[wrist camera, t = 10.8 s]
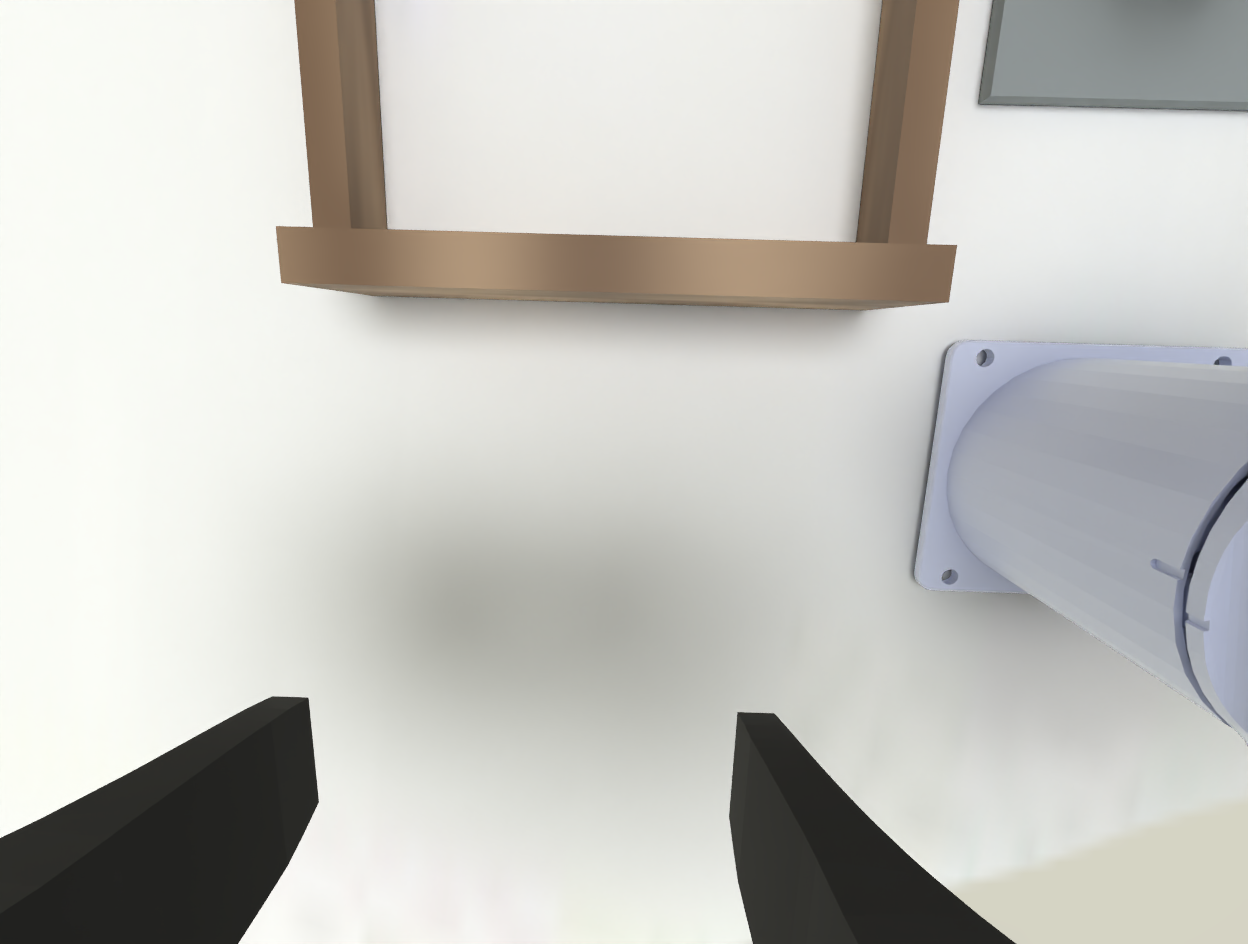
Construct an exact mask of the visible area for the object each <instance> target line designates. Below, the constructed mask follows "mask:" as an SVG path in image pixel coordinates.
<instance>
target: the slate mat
mask: <svg viewBox="0 0 1248 944" xmlns="http://www.w3.org/2000/svg"><path fill="white" fill-rule="evenodd" d="M979 104H1005V105H1045V106H1085V107H1125V108H1164V109H1204V110H1244V111H1248V0H994V1H993V8H992V15H991V22H990V29H989V35H988V42H987V49H986V56H985V63H984V70H983V77H982V84H981V90H980V97H979Z"/></svg>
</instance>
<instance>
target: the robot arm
mask: <svg viewBox="0 0 1248 944" xmlns="http://www.w3.org/2000/svg"><path fill="white" fill-rule="evenodd" d="M981 350H984V351H985V352H986V353H987V359H986V361H985V363H983V364H982V365H981V366H979V364H978V363H977V359H976V357H977V355H978V353H979V352H980V351H981ZM1217 359H1219V365H1214V363H1215V361H1216V360H1217ZM951 569H952V574H951V576H950V577H949V578H948V579H945V580H942V575H943V573H944V572H945V571H947V570H951ZM914 576H915V579H916V581H917V582H918V583H919V584H920V585H921V586H922V587H924V588H925V589H928V590H938V591H967V592H996V593H1026V594H1030V595H1032V596H1033V597H1035V598H1036V599H1038V600H1039V601H1041V602H1043V603H1044V604H1046V605H1047V606H1049V607H1050V608H1052V609H1053V610H1055V611H1056V612H1058V613H1059V614H1061V615H1062V616H1064V617H1065V618H1067V619H1068V620H1070V621H1071V622H1073V623H1074V624H1076V625H1077V626H1079V627H1080V628H1082V629H1083V630H1085V631H1086V632H1088V633H1089V634H1091V635H1092V636H1094V637H1095V638H1097V639H1098V640H1100V641H1101V642H1103V643H1104V644H1106V645H1107V646H1109V647H1110V648H1112V649H1113V650H1115V651H1116V652H1118V653H1119V654H1121V655H1122V656H1124V657H1125V658H1127V659H1128V660H1130V661H1131V662H1133V663H1134V664H1136V665H1137V666H1139V667H1140V668H1142V669H1144V670H1145V671H1147V672H1148V673H1150V674H1151V675H1153V676H1154V677H1156V678H1157V679H1159V680H1160V681H1162V682H1163V683H1165V684H1166V685H1168V686H1169V687H1171V688H1172V689H1174V690H1175V691H1177V692H1178V693H1180V694H1181V695H1183V696H1184V697H1186V698H1187V699H1189V700H1190V701H1192V702H1193V703H1195V704H1196V705H1198V706H1199V707H1201V708H1202V709H1204V710H1205V711H1207V712H1208V713H1210V714H1211V715H1213V716H1214V717H1216V718H1217V719H1219V720H1220V721H1222V722H1223V723H1225V724H1227V725H1228V726H1230V727H1232V728H1233V729H1234V730H1235V731H1236V732H1237V733H1238V734H1239V735H1240V736H1241V737H1242V738H1243V739H1244V741H1245V742H1246V744H1247V746H1248V349H1246V348H1212V347H1179V346H1145V345H1111V344H1077V343H1044V342H1010V341H976V340H963V341H958V342H956V343H955V344H953V345H952V346H951V347H950V348H949V350H948V352H947V355H946V359H945V366H944V373H943V380H942V386H941V393H940V400H939V407H938V414H937V420H936V427H935V434H934V441H933V448H932V454H931V461H930V468H929V475H928V482H927V488H926V495H925V502H924V509H923V516H922V522H921V529H920V536H919V543H918V550H917V556H916V563H915V570H914ZM318 803H319V799H318V789H317V779H316V769H315V759H314V749H313V739H312V729H311V719H310V709H309V699H308V698H302V697H273V696H272V697H270V698H268V699H266V700H264V701H262V702H259V703H257V704H255V705H253V706H251V707H249V708H247V709H245V710H243V711H242V712H240V713H238V714H236V715H234V716H232V717H230V718H228V719H227V720H225V721H223V722H221V723H219V724H217V725H216V726H214V727H212V728H210V729H208V730H207V731H205V732H203V733H201V734H199V735H198V736H196V737H194V738H192V739H190V740H188V741H187V742H185V743H183V744H181V745H179V746H178V747H176V748H174V749H172V750H170V751H168V752H167V753H165V754H163V755H161V756H159V757H158V758H156V759H154V760H152V761H150V762H148V763H147V764H145V765H143V766H141V767H139V768H138V769H136V770H134V771H132V772H130V773H128V774H126V775H125V776H123V777H121V778H119V779H117V780H115V781H113V782H111V783H109V784H107V785H105V786H103V787H101V788H99V789H97V790H96V791H94V792H92V793H90V794H88V795H86V796H84V797H82V798H80V799H78V800H76V801H74V802H72V803H70V804H68V805H66V806H65V807H63V808H61V809H59V810H57V811H55V812H53V813H51V814H49V815H47V816H45V817H43V818H41V819H39V820H37V821H35V822H33V823H31V824H29V825H27V826H25V827H23V828H21V829H19V830H16V831H14V832H12V833H10V834H8V835H6V836H4V837H2V838H0V944H238V943H239V941H240V940H241V938H242V937H243V935H244V934H245V932H246V931H247V929H248V928H249V926H250V924H251V923H252V921H253V920H254V918H255V917H256V915H257V914H258V912H259V910H260V909H261V907H262V906H263V904H264V902H265V901H266V899H267V898H268V896H269V895H270V893H271V891H272V890H273V888H274V887H275V885H276V884H277V882H278V880H279V879H280V877H281V876H282V874H283V872H284V871H285V869H286V867H287V866H288V864H289V862H290V860H291V858H292V856H293V854H294V852H295V850H296V848H297V846H298V844H299V842H300V840H301V838H302V836H303V834H304V832H305V830H306V828H307V826H308V824H309V822H310V820H311V817H312V815H313V813H314V811H315V809H316V807H317V805H318ZM729 818H730V826H731V834H732V841H733V849H734V856H735V863H736V870H737V877H738V883H739V887H740V892H741V896H742V900H743V904H744V908H745V912H746V917H747V921H748V925H749V929H750V933H751V937H752V941H753V944H1016V943H1014V942H1013V941H1012V940H1010V939H1009V938H1008V937H1006V936H1005V935H1004V934H1002V933H1001V932H1000V931H999V930H997V929H996V928H995V927H993V926H992V925H991V924H990V923H988V922H987V921H986V920H985V919H983V918H982V917H981V916H979V915H978V914H977V913H976V912H974V911H973V910H972V909H971V908H970V907H968V906H967V905H966V904H965V903H964V902H962V901H961V900H960V899H959V898H958V897H957V896H955V895H954V894H953V893H952V892H951V891H949V890H948V889H947V888H946V887H944V886H943V885H942V884H941V883H940V882H938V881H937V880H936V879H935V878H934V877H932V876H931V875H930V874H929V873H928V872H927V871H926V870H925V869H923V868H922V867H921V866H920V865H919V864H918V863H917V862H916V861H914V860H913V859H912V858H911V857H910V856H909V855H908V854H907V853H906V852H905V851H904V850H903V849H901V848H900V847H899V846H898V845H897V844H896V843H895V842H894V841H893V840H892V839H891V838H890V837H889V836H888V835H887V834H886V833H885V832H884V831H882V830H881V829H880V828H879V827H878V826H877V825H876V824H875V823H874V822H873V821H872V820H871V819H870V818H869V817H868V816H867V815H866V814H865V813H864V812H863V811H862V810H861V809H860V808H859V807H858V806H857V805H856V804H855V803H854V801H853V800H852V799H851V798H850V797H849V796H848V795H847V794H846V793H845V792H844V791H843V790H842V789H841V788H840V787H839V786H838V785H837V784H836V782H835V781H834V780H833V779H832V778H831V777H830V776H829V775H828V774H827V773H826V772H825V770H824V769H823V768H822V767H821V766H820V765H819V764H818V763H817V761H816V760H815V759H814V758H813V757H812V756H811V755H810V754H809V752H808V751H807V750H806V749H805V748H804V747H803V746H802V744H801V743H800V742H799V741H798V740H797V739H796V738H795V736H794V735H793V734H792V733H791V732H790V731H789V729H788V728H787V727H786V726H785V725H784V724H783V723H782V722H781V720H780V719H779V718H778V717H777V716H776V715H775V714H774V713H744V712H738V714H737V727H736V739H735V751H734V764H733V776H732V789H731V801H730V813H729Z"/></svg>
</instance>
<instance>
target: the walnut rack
mask: <svg viewBox="0 0 1248 944" xmlns="http://www.w3.org/2000/svg"><path fill="white" fill-rule="evenodd" d="M294 1H295V13H296V25H297V37H298V50H299V62H300V74H301V86H302V98H303V110H304V123H305V135H306V147H307V159H308V171H309V183H310V196H311V208H312V220H313V227H284V226H276V232H277V243H278V253H279V264H280V274H281V283H286V284H293V285H300V286H307V287H314V288H322V289H329V290H336V291H343V292H350V293H357V294H364V295H372V296H394V297H429V298H463V299H497V300H532V301H566V302H600V303H635V304H669V305H703V306H738V307H772V308H806V309H841V310H873V309H883V308H894V307H904V306H914V305H925V304H935V303H945V302H949V297H950V290H951V283H952V276H953V269H954V262H955V255H956V249H957V245H930V244H927V237H928V230H929V222H930V215H931V207H932V200H933V192H934V185H935V178H936V170H937V163H938V155H939V148H940V140H941V133H942V125H943V118H944V111H945V103H946V96H947V88H948V81H949V73H950V66H951V58H952V51H953V44H954V36H955V29H956V21H957V14H958V6H959V0H883V3H882V12H881V21H880V30H879V40H878V49H877V58H876V67H875V76H874V85H873V94H872V104H871V113H870V122H869V131H868V140H867V149H866V158H865V168H864V177H863V186H862V195H861V204H860V213H859V222H858V232H857V241H856V242H822V241H786V240H750V239H715V238H679V237H643V236H607V235H571V234H535V233H499V232H463V231H427V230H391V229H387V221H386V203H385V185H384V167H383V150H382V132H381V114H380V96H379V78H378V61H377V43H376V25H375V7H374V0H294Z"/></svg>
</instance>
